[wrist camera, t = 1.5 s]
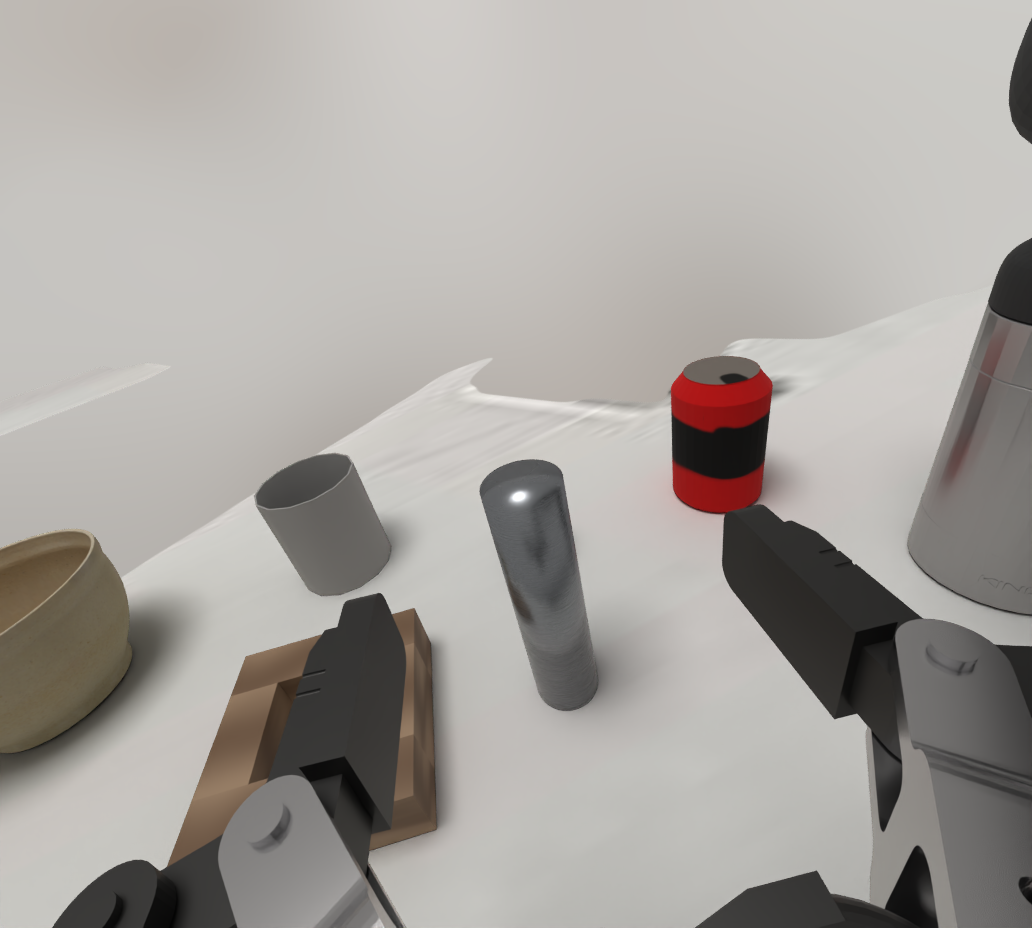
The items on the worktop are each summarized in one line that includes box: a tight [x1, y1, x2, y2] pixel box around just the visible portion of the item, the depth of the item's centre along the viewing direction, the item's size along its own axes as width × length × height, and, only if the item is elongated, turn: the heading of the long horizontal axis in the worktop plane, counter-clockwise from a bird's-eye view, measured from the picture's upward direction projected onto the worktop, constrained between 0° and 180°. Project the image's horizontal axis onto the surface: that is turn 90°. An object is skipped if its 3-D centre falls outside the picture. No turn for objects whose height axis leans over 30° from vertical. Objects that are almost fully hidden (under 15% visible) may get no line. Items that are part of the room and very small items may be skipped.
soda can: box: [671, 356, 772, 513], centre depth 40 cm, size 8×8×12 cm
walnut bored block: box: [167, 608, 437, 867], centre depth 28 cm, size 12×12×4 cm
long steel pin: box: [480, 459, 598, 711], centre depth 26 cm, size 4×4×16 cm
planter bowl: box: [0, 529, 132, 753], centre depth 35 cm, size 16×16×11 cm
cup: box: [254, 453, 391, 596], centre depth 42 cm, size 8×8×10 cm
